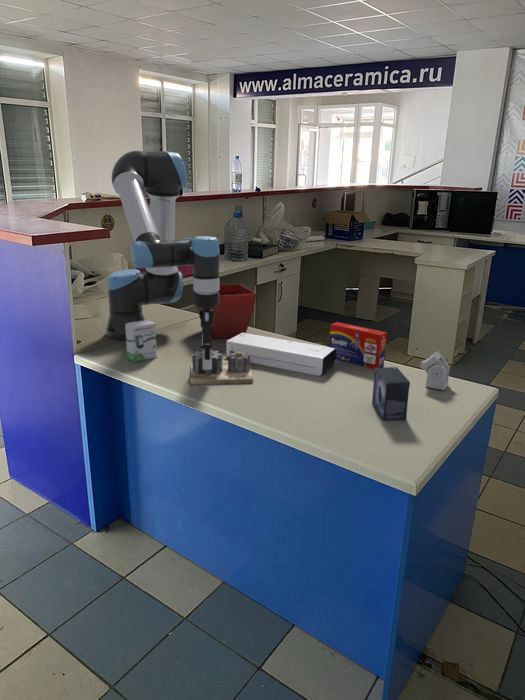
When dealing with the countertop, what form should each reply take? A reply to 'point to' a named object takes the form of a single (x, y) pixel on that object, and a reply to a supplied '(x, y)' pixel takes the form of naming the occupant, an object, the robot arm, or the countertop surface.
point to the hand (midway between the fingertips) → (207, 360)
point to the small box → (390, 393)
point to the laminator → (283, 353)
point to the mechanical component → (436, 371)
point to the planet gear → (198, 363)
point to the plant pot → (232, 310)
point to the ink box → (141, 340)
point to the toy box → (358, 345)
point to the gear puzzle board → (227, 371)
